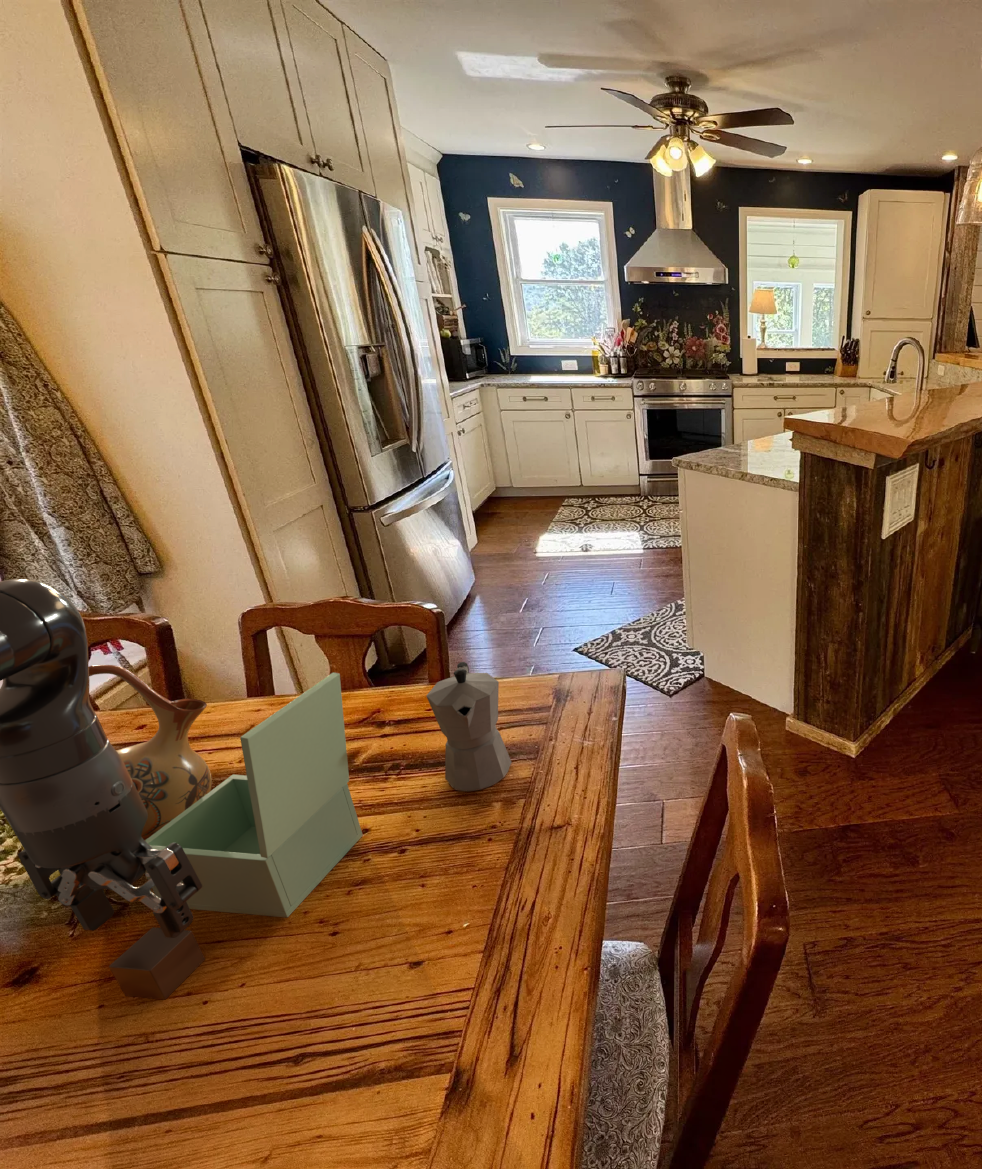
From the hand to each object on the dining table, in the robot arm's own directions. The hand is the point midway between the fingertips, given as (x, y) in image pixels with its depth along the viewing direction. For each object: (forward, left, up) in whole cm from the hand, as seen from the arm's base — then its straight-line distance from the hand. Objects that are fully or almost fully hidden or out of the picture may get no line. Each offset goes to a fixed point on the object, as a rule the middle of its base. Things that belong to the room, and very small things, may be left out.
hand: (140, 926), depth 62 cm
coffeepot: (+15, +35, -8) cm, 39 cm away
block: (0, 0, -8) cm, 8 cm away
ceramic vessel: (-20, +19, -8) cm, 29 cm away
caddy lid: (+8, +14, +10) cm, 19 cm away
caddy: (-1, +14, -8) cm, 16 cm away
